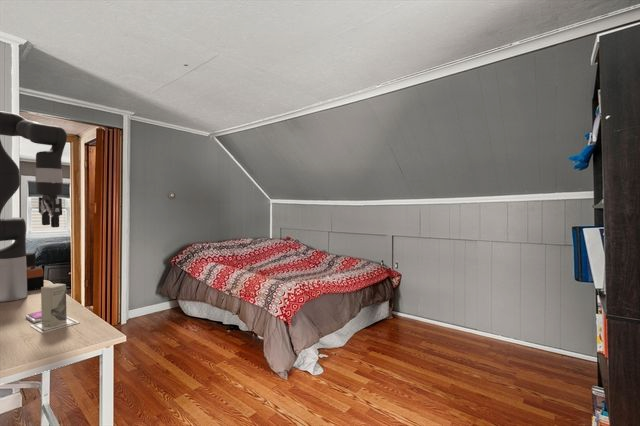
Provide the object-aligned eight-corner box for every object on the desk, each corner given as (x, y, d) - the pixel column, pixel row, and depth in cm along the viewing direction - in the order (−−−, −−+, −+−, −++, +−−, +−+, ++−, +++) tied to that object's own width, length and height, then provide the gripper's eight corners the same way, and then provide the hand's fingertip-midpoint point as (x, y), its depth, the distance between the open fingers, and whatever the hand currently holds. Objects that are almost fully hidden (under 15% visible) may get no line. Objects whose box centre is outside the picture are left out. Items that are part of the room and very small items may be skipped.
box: (52, 327, 104) (50, 288, 104) (41, 326, 105) (39, 287, 105) (67, 321, 110) (66, 283, 109) (57, 320, 110) (56, 282, 110)
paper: (30, 326, 106) (30, 325, 106) (67, 316, 114) (67, 315, 114) (41, 333, 101) (41, 332, 101) (79, 323, 109) (79, 321, 109)
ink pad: (25, 318, 113) (25, 314, 113) (53, 311, 119) (53, 307, 119) (34, 323, 108) (33, 319, 108) (62, 316, 115) (62, 312, 115)
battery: (22, 289, 146) (21, 267, 145) (41, 286, 151) (40, 265, 151) (24, 291, 143) (23, 269, 143) (44, 288, 148) (43, 266, 148)
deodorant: (23, 285, 153) (21, 253, 153) (38, 283, 156) (37, 252, 155) (17, 288, 148) (15, 255, 147) (33, 287, 150) (32, 254, 149)
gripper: (28, 180, 118) (30, 225, 119) (43, 181, 110) (45, 228, 111) (54, 181, 124) (55, 223, 125) (70, 182, 116) (71, 227, 117)
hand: (50, 226), depth 118 cm, fingers open, 8 cm apart
